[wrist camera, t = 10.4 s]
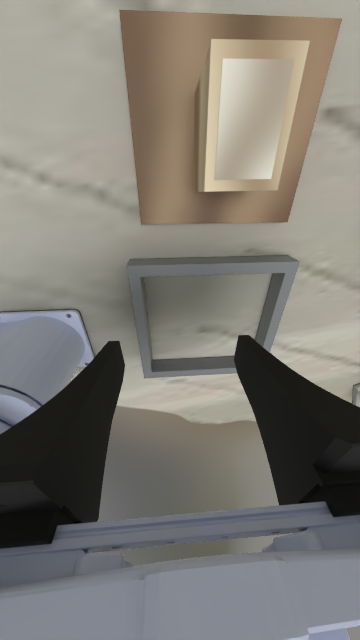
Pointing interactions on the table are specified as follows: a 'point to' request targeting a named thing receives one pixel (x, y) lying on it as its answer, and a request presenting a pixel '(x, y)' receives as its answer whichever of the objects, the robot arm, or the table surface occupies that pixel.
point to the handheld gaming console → (356, 395)
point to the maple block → (245, 113)
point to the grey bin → (156, 267)
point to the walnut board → (179, 110)
